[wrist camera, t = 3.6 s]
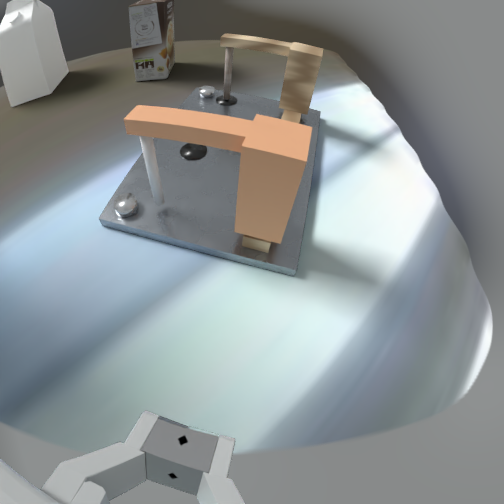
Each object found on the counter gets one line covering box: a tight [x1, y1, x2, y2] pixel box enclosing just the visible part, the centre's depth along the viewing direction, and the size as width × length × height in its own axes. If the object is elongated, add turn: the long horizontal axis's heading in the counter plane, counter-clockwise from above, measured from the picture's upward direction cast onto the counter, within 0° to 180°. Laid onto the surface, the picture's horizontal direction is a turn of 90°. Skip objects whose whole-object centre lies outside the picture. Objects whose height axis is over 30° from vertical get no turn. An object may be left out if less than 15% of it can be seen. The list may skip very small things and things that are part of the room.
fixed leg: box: [220, 34, 323, 253], centre depth 28 cm, size 13×26×11 cm, turn 166°
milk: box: [0, 0, 69, 107], centre depth 33 cm, size 12×12×26 cm
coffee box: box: [129, 0, 175, 81], centre depth 40 cm, size 9×6×16 cm
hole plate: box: [99, 86, 321, 276], centre depth 33 cm, size 20×28×2 cm
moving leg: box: [124, 105, 312, 244], centre depth 22 cm, size 13×4×10 cm, turn 76°
